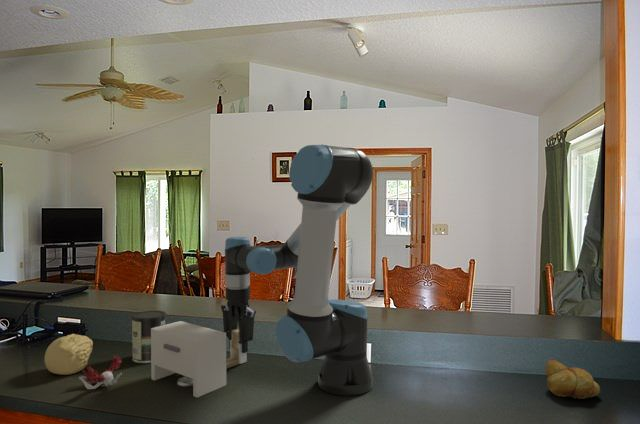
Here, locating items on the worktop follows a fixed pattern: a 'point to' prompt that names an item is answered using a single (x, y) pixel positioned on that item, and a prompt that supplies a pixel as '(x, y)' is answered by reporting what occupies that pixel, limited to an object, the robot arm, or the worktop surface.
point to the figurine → (104, 377)
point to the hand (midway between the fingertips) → (238, 360)
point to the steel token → (185, 381)
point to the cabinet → (189, 355)
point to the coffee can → (144, 333)
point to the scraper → (234, 349)
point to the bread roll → (570, 381)
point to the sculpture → (68, 354)
